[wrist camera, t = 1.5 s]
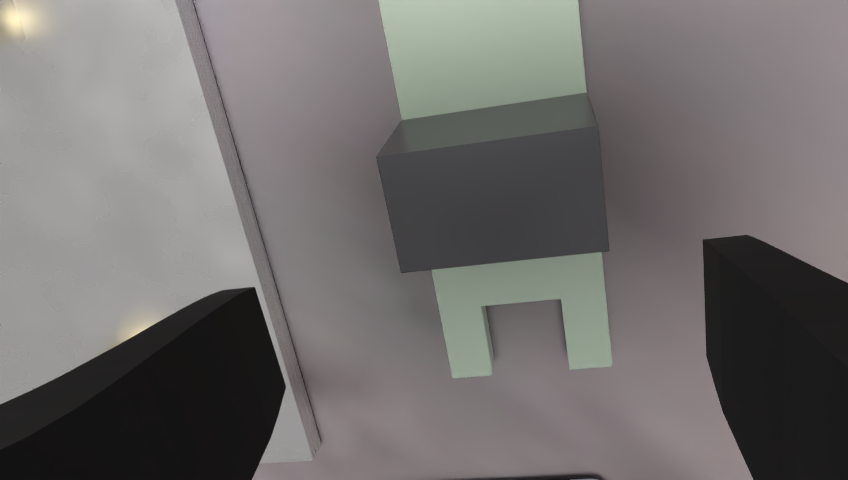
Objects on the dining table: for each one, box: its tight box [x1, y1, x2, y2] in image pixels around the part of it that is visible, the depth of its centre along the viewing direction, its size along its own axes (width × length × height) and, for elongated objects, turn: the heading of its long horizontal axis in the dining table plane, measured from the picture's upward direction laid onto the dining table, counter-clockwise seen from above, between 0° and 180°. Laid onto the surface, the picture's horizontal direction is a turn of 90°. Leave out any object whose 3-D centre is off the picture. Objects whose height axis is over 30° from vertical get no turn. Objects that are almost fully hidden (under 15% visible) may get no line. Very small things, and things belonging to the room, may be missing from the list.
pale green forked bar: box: [376, 0, 612, 378], centre depth 18 cm, size 14×5×4 cm, turn 10°
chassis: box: [0, 0, 321, 464], centre depth 21 cm, size 20×14×4 cm
